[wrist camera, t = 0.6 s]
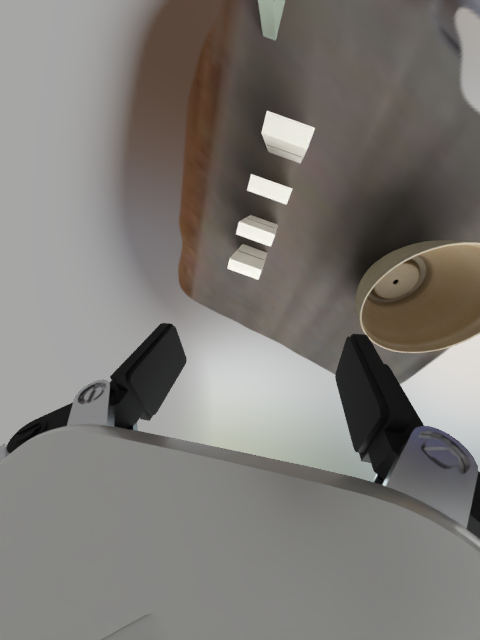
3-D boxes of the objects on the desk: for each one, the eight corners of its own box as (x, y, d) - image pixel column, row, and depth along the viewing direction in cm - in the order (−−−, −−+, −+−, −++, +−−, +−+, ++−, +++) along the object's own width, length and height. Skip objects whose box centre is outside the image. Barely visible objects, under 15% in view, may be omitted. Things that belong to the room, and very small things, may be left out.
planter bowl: (478, 230, 27) (572, 247, 18) (417, 320, 36) (459, 360, 27) (360, 225, 29) (392, 238, 21) (330, 310, 39) (344, 344, 30)
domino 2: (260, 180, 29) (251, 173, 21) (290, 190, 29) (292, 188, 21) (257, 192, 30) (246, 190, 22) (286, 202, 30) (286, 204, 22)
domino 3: (250, 214, 32) (239, 221, 24) (277, 224, 32) (275, 234, 24) (248, 224, 33) (235, 234, 25) (274, 234, 33) (270, 246, 25)
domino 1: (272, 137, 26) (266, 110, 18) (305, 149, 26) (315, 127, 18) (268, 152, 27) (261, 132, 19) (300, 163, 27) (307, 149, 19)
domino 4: (242, 243, 35) (229, 258, 27) (267, 252, 35) (262, 270, 27) (240, 252, 36) (227, 268, 27) (264, 260, 36) (258, 279, 27)
